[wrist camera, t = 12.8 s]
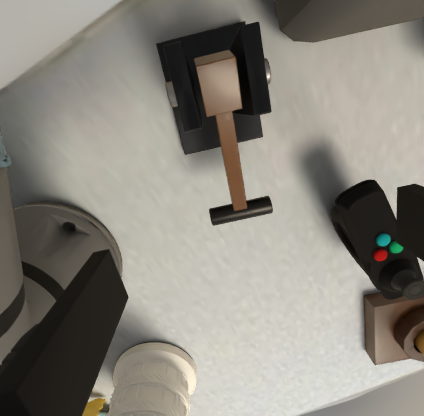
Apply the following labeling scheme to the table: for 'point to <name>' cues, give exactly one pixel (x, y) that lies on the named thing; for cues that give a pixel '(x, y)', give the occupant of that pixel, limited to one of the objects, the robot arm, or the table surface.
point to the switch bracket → (190, 90)
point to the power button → (420, 341)
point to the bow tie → (102, 413)
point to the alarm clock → (341, 16)
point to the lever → (227, 132)
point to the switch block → (393, 328)
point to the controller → (376, 241)
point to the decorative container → (153, 381)
